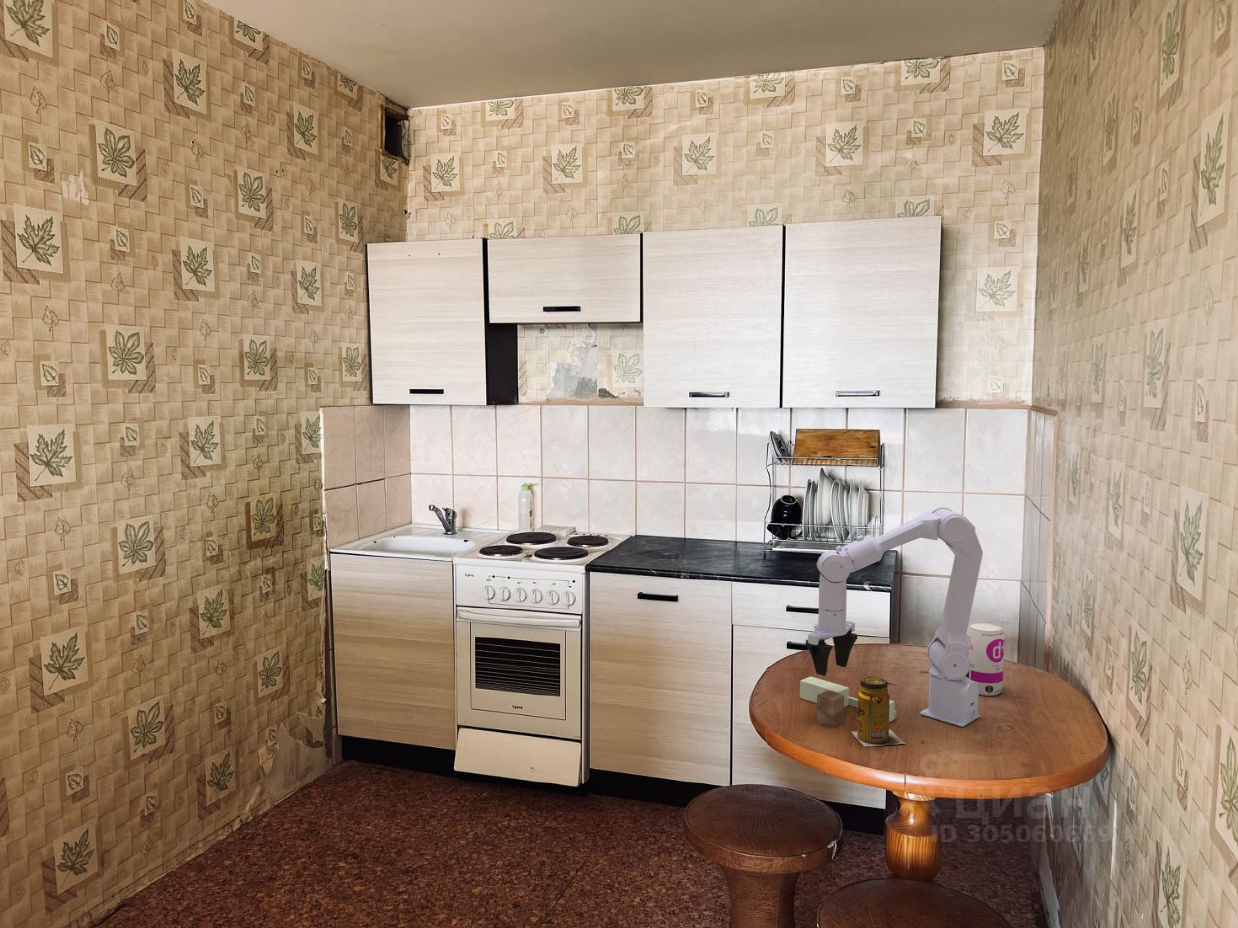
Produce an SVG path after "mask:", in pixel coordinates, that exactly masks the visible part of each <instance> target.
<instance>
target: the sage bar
mask: <svg viewBox="0 0 1238 928" xmlns="http://www.w3.org/2000/svg"><path fill="white" fill-rule="evenodd" d="M827 690H829V691H832V692H836V693H839V694H842V695H844V708H846V707H848V706H850V707H855V708H857V709H858V698H856V697H852V696H850V693H849V692H850V688H849V687H848V686H845V685H842V684H838V683H834V682H831V681H828V680H824V679H821V678H817V677H814V676H811V675H810V676H808V677H805V678H804V679H801V680H800V682H799V698H800V699H802V700H805V701H808V702H813V703H815V704H817V695H818V694H820V693H823V692H825V691H827ZM895 704H896V701H895V700H892V699H890V705H889V723H890V722H892V721H894V720H896V719H897V717H898V716H897V715H898V712H897V711H898V710H895V708H896V707H895V706H896V705H895Z"/></svg>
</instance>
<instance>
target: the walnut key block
mask: <svg viewBox="0 0 1238 928" xmlns="http://www.w3.org/2000/svg"><path fill="white" fill-rule="evenodd" d="M844 723H845V707H844V695H842V694H839V693H836V692H832V691H829V690H827V691H825V692H823V693H820V694H818V695H817V703H816V724H819V725H822V726H826V727H829V728H832V729H834V728H836V727H838V726H841V725H842V724H844Z"/></svg>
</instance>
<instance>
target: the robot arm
mask: <svg viewBox="0 0 1238 928" xmlns="http://www.w3.org/2000/svg"><path fill="white" fill-rule="evenodd" d="M855 538H856V540H854V541H852V542H850V543H847V544H845V545H843V546H841V545H838V546H835V549H836V550H831V549H830V550H827V551H824V552H822V553H821V554H820V555H821V556H819V557H818V559H817V562H816V568H817V569H818V571H819V573H820V574H819V585H818V623H817V624H814V630H813V631H812V632H810V633H808V635H807V639H805V646H806V648H807V650H808V651H809V654H810V655H811V659H812V663H813V665H814V670H815V674H816V675H819V676H823V677H826V675H827V672H828V663H829V658H830V655H831V652H832V649H833V647H834V655H835V657H834V658H835V664H836V666H838V667H842V668H847V665H848V662H849V658H850V655H851V652H852V649H853V647H854V644H855V643H856V642H857V640H858V634H857V633H853V632H855V631H856V622H854V621H851V620H850V621H849V620H847V596H848V595H847V593H848V592H847V579H848V578H849V576H850V575H851V573H854V572H857V571H859V570H861V569H863V568H865V567H868V566H870V565H873V564H875V563H877V562H878V561H881V559H882V557H883V555H884V553H885V552H888V551H890V550H893V549H894V548H897V547H900V546H902V545H904V544H908V543H909V542H912V541H916V540H918V539H927V540H933V541H938V540H939V539H940V540H941V541H943V542H944V543H945V546H947V547H948V548H949V550H950V551H951V552H952V553H953V555H954V556H953V557H954V558H953V562H952V563H953V564H952V569H951V573H950V578H949V582H948V587H947V592H946V597H945V601H944V602H945V603H944V608H943V612H942V616H941V617H942V618H941V622H940V626H939V627H938V628H937V629H936V630H935V632H934V636H933V638H932V641H930V643H929V644H928V645H927V648H926V656H927V658H928V660H929V661H930V662H931V666H930V668H929V675H928V676H929V677H928V678H929V679H928V684H929V685H928V707H926V708H925V709H923V710H922V711H920V712H919V714H920V715H921V716H925V717H928V718H932V719H935V720H938V721H942V722H944V723H948V724H952V725H955V726H959V727H962V728H963V727H966V726H967V725H968V724H970V723H971V722H973V721H975V720H976V719H978V718H979V717H980V714H979V689H978V684H977V683H976V682H975V681H972V680H970V679H968V678H967V677H966V674H967V673H968V671H969V669H970V661H969V658H968V650H969V645H968V640H967V636H966V633H967V628H968V627H969V624H970V623H969V622H970V617H971V613H972V607H973V603H974V598H975V593H976V588H977V585H978V584H977V583H978V578H979V576H980V575H979V574H980V569H981V566H982V565H981V564H982V559H983V548H982V546H981V544H980V541H979V538H978V536H977V533H976V526H975V525H974V524H973V523H972V522H971V521H970V520H969V519H968V518H967V517H966V516H964V515H962V514H960V513H957V512H955V511H954V510H952V509H950V508H948V507H937V508H935V509H934V510H932V511H927V512H924V513H922V514H920V515H918V516H917V517H914V518H913V519H911V520H908V521H907V522H905V523H903V524H900V525H899V526H898V527H895V528H893V529H891V530H889V531H886V532H885V533H883V534H881V535H879V536H877V537H875V536H872V535H870V534H869V535H868V534H867V535H865V536H863V535H862V534H861V535H858V536H856V537H855ZM831 638H832V642H833V645H830V644H827V642H825V641H826V640H829V639H831Z"/></svg>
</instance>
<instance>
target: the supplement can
mask: <svg viewBox="0 0 1238 928" xmlns="http://www.w3.org/2000/svg"><path fill="white" fill-rule="evenodd" d="M966 636H967V640H968V645H969V650H968V658H969V661H970V669H969V671H968V673H967V674H966V677H967V678H968V679H970V680H972V681H975V682H976V683H977V684H978V689H979V695H980V696H986V697H987V696H988V697H989V696H990V697H991V696H997V695H1000V693H1001V692H1003V691H1004V668H1005V667H1004V665H1005V644H1006V643H1005V641H1006V640H1005V639H1006V637H1005V636H1006V635H1005V633H1004V630H1003V628H1002V626H1000V625H998V624H997V623H996V624H994V623H990V622H980V621H979V622H971V623H968V628H967V633H966Z"/></svg>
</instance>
